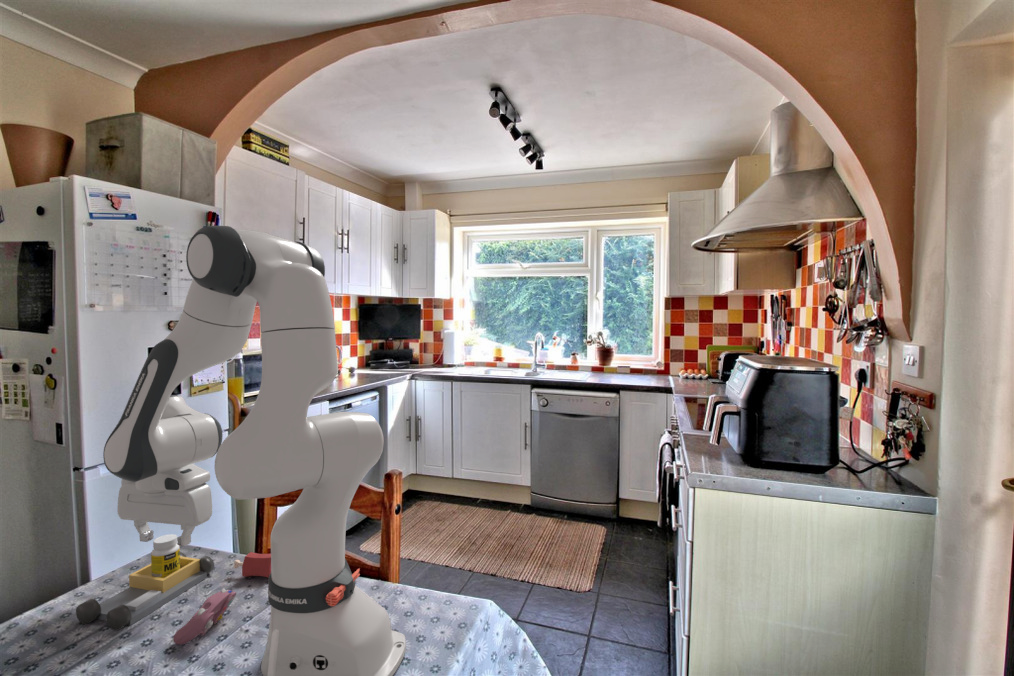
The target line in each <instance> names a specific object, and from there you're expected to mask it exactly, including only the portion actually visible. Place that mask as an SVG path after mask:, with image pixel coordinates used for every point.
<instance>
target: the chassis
mask: <svg viewBox="0 0 1014 676" xmlns="http://www.w3.org/2000/svg"><path fill="white" fill-rule="evenodd" d="M214 569H215V561H214V560H213V559H212V558H211V557H210V556H209V555H205V556H202V557H201V558H194V557H188V556H187V555H186V554H185V553H183V552H182V551H180V569H179V570H177V571H175V572H174V573H172V574H170V575H169V576H167V577H165V578H158V577H152V568H151V563H149V564H147V565H145V566H144V567H141V568H140V569H138V570H136V571H134V572H132V573H130V574H129V575H128V578H129V581H128V582H129V586H128V588H126V589H124V590H122V591H120V592H119V593H117V594H115V595H113V596H111V597H110V598H107V599H105V600H104V601H101V603H99V602H98V601H97V600H96V599H93V598H90V599H88V600H86V601H84V602H83V603H82V602H81V604H79V605H77V606H76V610H75V615H76V618H77V620H78V621H79V622H80V623H82V624H83V625H87V624H89V623H91V622H92V621H94V620H101V621H106V624H107V626H108V627H109V628H110V629H112V630H113V631H118V630H121V629H122V628H123V627H125V626H133V625H134V624H136V623H137V622H139V621H140V620H142V619H144V618H145V617H146V616H148V615H150V614H151V613H153V612H155V611H156V610H158V609H159V608H161V607H163V606H164V605H166V604H167V603H169V602H170V601H172V600H173V599H175V598H176V597H177V598H178V596H180V595H181V594H183V593H184V592H187V590H189V589H191V588H193V587H194V586H196V585H198V584H199V583H201V582H202V581H204V580H205V579H207V578H208V575H209V574H210V573H212V572H213V571H214ZM195 584H196V585H195ZM192 586H193V587H192Z"/></svg>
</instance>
